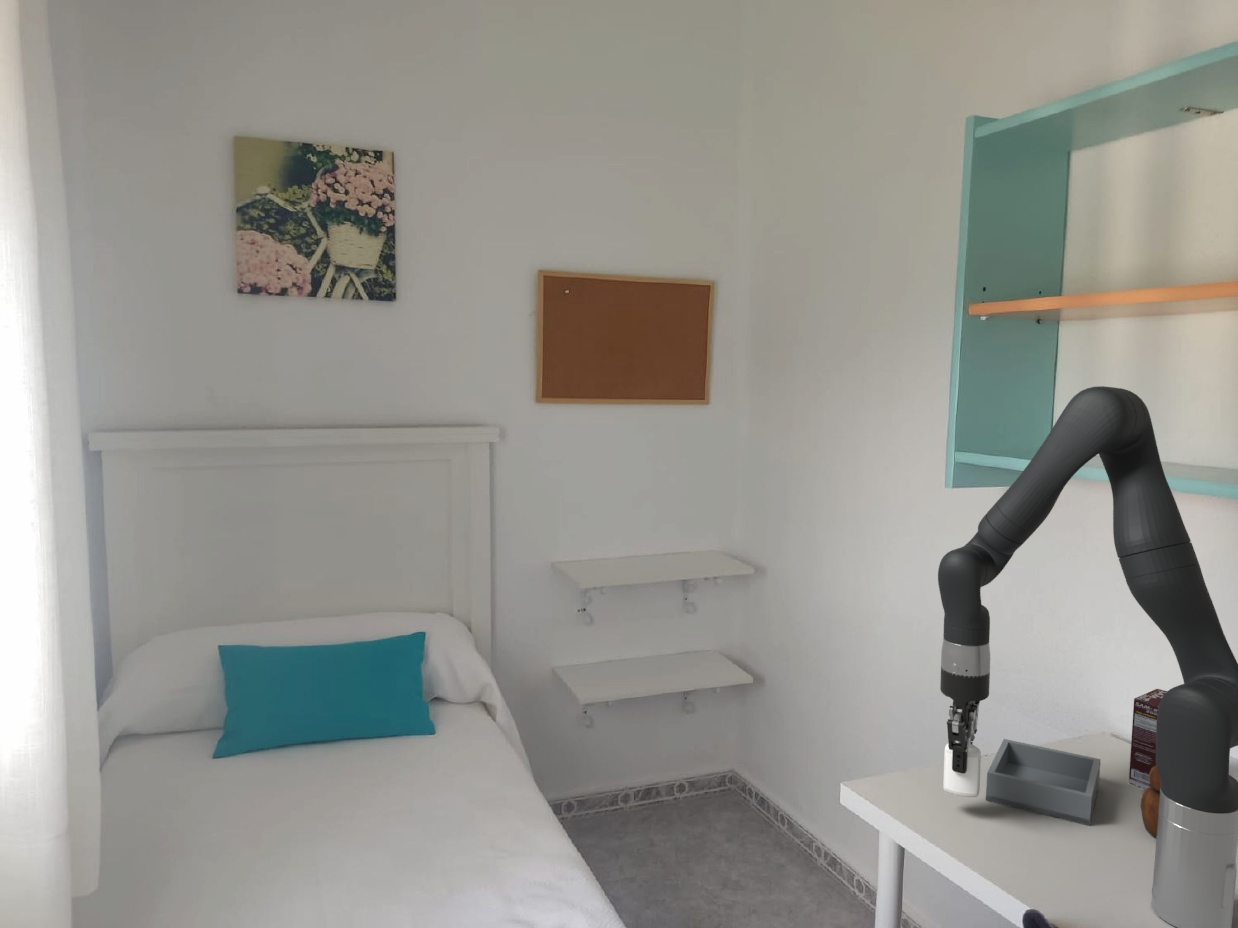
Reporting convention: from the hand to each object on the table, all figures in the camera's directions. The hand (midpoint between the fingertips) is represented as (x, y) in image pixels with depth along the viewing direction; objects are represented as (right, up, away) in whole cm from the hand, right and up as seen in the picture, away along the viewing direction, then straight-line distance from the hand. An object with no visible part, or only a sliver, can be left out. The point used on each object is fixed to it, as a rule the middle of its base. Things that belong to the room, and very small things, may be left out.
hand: (962, 766), depth 151 cm
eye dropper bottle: (0, -5, 0) cm, 5 cm away
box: (+17, -7, +8) cm, 21 cm away
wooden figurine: (+30, -9, -5) cm, 32 cm away
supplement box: (+39, -7, +12) cm, 41 cm away
